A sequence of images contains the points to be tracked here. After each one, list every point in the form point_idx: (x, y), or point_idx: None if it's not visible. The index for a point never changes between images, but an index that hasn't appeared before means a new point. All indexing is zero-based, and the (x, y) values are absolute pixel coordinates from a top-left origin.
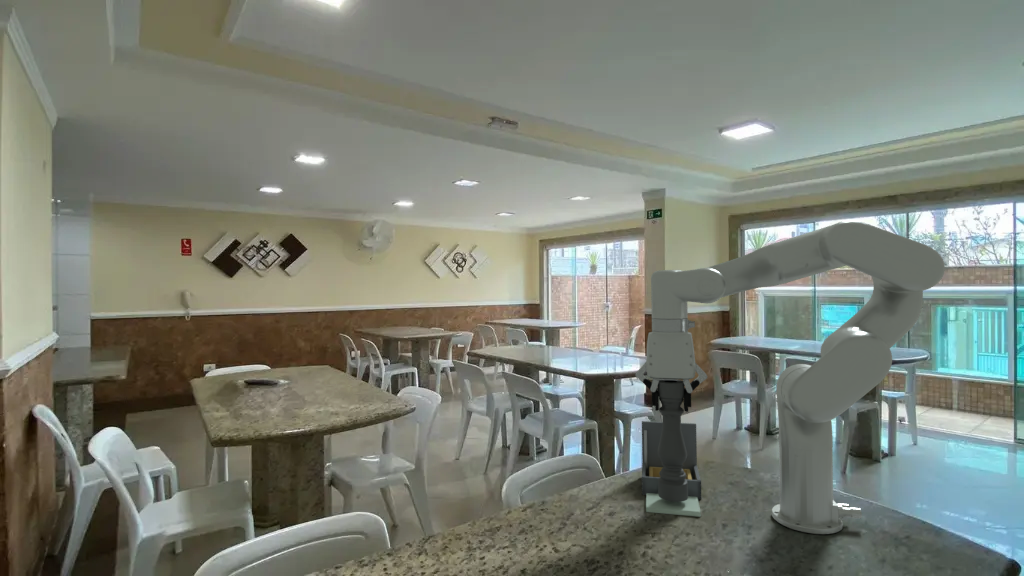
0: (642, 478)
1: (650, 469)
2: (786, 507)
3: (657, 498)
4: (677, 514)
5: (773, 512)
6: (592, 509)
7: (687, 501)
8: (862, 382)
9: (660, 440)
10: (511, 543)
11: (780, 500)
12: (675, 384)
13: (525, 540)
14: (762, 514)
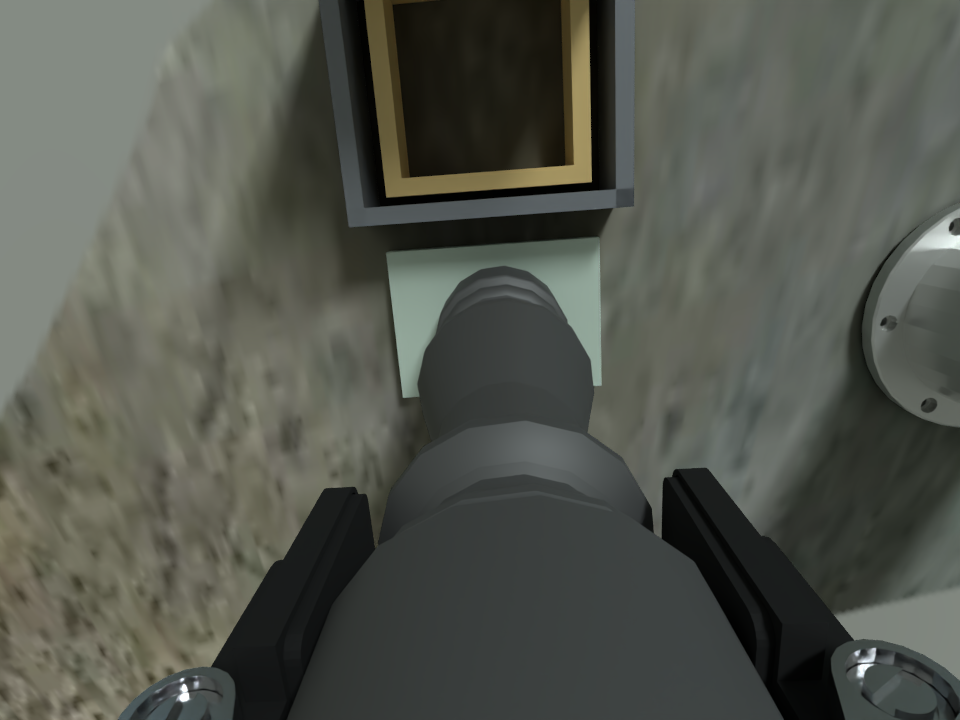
0: (354, 226)
1: (372, 18)
2: (939, 376)
3: (437, 300)
4: None
5: (876, 327)
6: (217, 420)
7: (556, 298)
8: None
9: (429, 432)
10: (81, 683)
11: (941, 336)
12: None
13: (108, 661)
14: (831, 294)
